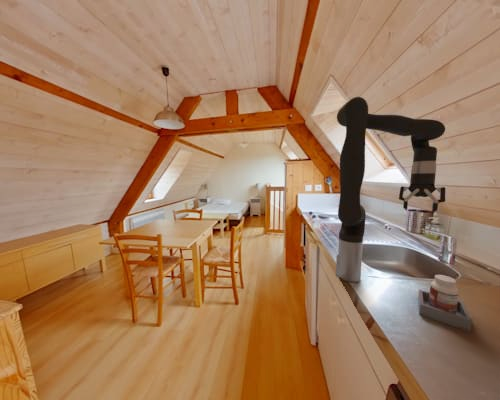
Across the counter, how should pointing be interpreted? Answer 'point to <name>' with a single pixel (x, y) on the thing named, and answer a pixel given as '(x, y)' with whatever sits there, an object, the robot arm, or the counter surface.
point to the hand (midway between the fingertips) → (419, 211)
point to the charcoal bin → (444, 313)
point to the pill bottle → (444, 294)
